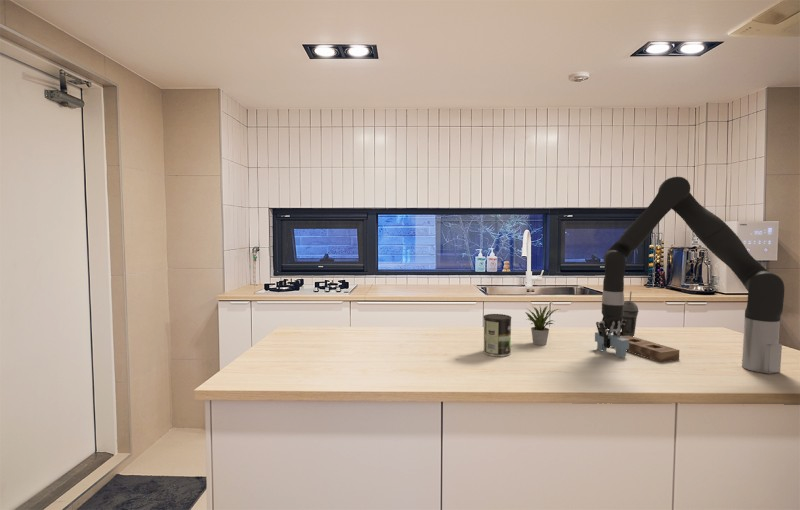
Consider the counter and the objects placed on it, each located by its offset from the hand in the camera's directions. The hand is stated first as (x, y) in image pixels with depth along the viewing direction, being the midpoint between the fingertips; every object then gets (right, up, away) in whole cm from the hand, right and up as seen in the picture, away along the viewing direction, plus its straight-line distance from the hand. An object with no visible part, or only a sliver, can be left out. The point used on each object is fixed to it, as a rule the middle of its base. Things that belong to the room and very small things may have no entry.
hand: (611, 347), depth 168 cm
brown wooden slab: (+13, -2, 0) cm, 13 cm away
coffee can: (-44, -2, 0) cm, 44 cm away
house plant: (-22, -1, +13) cm, 26 cm away
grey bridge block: (0, -2, 0) cm, 2 cm away
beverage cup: (+19, -1, +24) cm, 31 cm away
